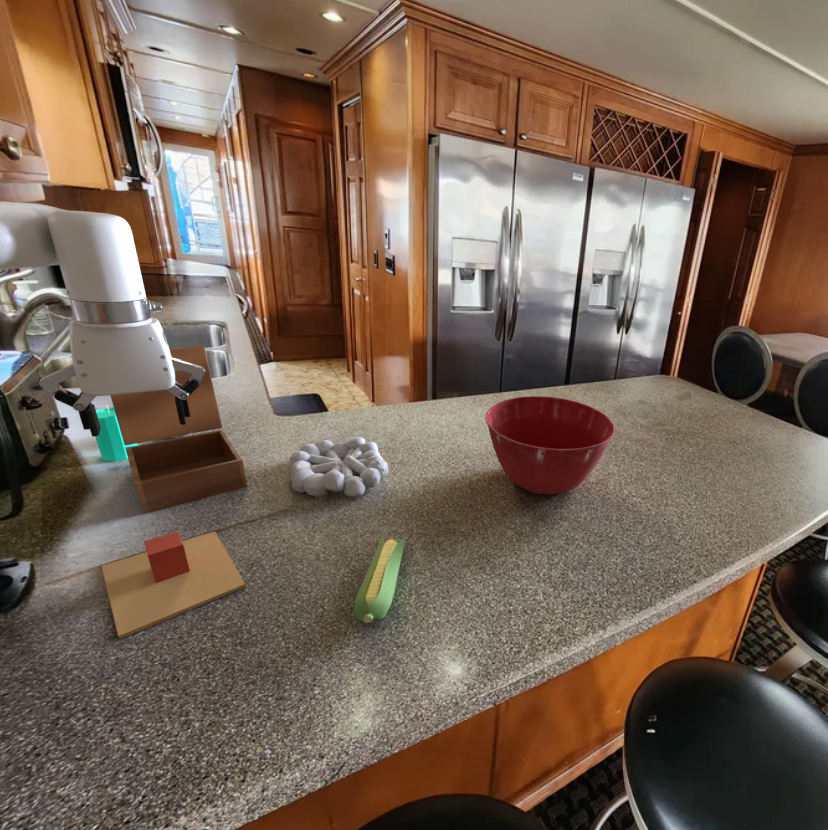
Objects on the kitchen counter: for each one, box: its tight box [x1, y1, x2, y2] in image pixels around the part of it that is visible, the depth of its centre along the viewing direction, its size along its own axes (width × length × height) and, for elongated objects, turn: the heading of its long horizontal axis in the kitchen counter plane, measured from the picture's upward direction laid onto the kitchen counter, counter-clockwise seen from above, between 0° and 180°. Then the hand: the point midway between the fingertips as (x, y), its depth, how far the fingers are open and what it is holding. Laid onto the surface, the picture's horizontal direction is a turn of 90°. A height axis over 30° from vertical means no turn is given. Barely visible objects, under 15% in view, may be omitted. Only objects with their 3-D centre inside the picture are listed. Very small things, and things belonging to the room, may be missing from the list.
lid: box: [109, 346, 223, 445], centre depth 91 cm, size 17×16×1 cm
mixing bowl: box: [485, 395, 616, 495], centre depth 103 cm, size 28×28×16 cm
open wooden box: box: [125, 429, 248, 515], centre depth 89 cm, size 17×16×7 cm
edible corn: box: [353, 533, 407, 624], centre depth 71 cm, size 5×20×5 cm, turn 7°
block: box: [143, 530, 190, 583], centre depth 68 cm, size 4×4×5 cm
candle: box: [94, 404, 139, 462], centre depth 95 cm, size 6×6×12 cm
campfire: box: [289, 436, 389, 498], centre depth 97 cm, size 22×21×6 cm
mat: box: [100, 530, 247, 640], centre depth 69 cm, size 20×14×1 cm
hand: (141, 426), depth 68 cm, fingers open, 9 cm apart
